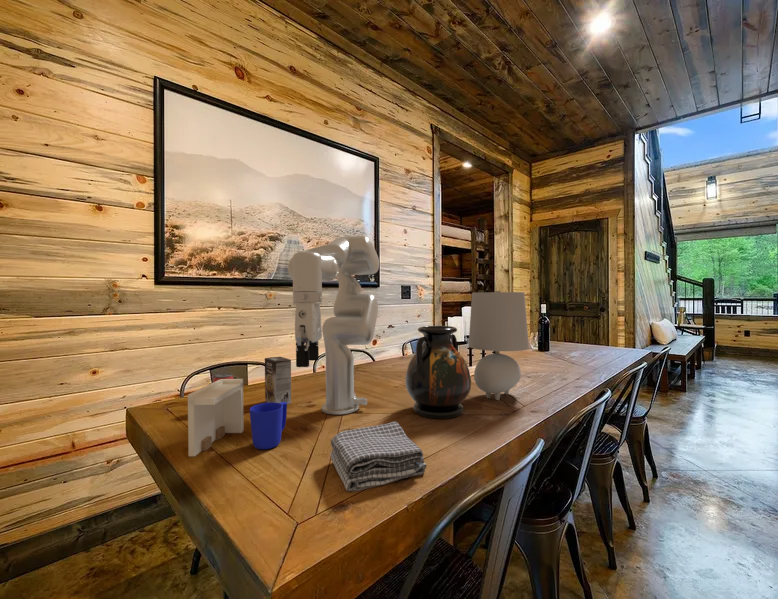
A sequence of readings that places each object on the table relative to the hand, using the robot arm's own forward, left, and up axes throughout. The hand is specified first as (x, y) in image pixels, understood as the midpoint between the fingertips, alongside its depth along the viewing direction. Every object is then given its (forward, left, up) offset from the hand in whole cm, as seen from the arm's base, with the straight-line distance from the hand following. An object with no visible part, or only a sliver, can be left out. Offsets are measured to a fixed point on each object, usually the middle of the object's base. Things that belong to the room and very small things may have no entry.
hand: (308, 363), depth 92 cm
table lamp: (-62, -40, -21) cm, 77 cm away
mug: (+10, 0, -21) cm, 23 cm away
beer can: (+36, -27, -21) cm, 49 cm away
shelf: (+24, 0, -21) cm, 32 cm away
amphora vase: (-37, -24, -21) cm, 49 cm away
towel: (-19, +15, -21) cm, 32 cm away
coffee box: (+20, -35, -21) cm, 45 cm away
